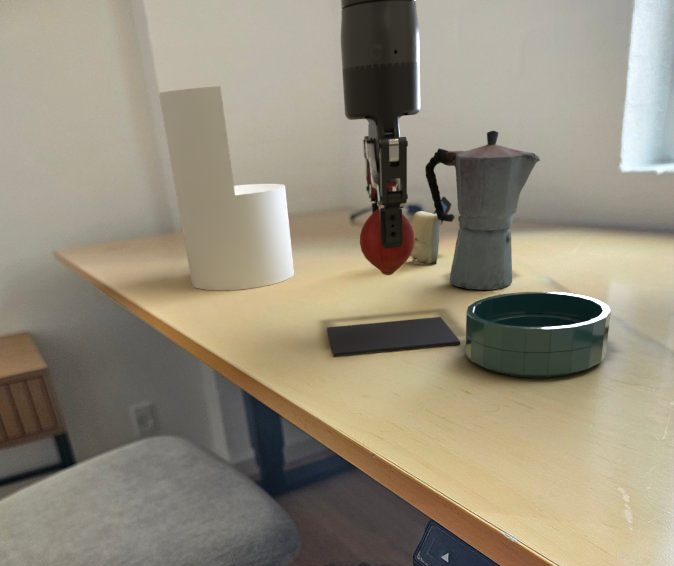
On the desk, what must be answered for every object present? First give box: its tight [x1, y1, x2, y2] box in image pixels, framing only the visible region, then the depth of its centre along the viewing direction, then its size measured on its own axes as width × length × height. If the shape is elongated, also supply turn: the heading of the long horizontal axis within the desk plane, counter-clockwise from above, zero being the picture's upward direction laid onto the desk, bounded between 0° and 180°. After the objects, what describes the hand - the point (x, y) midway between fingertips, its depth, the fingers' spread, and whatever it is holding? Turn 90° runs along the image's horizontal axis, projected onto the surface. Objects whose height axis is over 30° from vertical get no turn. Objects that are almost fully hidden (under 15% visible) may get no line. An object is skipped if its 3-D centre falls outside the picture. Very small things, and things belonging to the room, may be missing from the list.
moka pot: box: [425, 130, 541, 291], centre depth 91 cm, size 10×15×20 cm, turn 71°
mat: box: [326, 316, 461, 358], centre depth 76 cm, size 14×10×1 cm
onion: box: [359, 209, 415, 276], centre depth 71 cm, size 6×6×8 cm
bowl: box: [465, 291, 612, 379], centre depth 65 cm, size 13×13×5 cm
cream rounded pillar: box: [410, 210, 442, 266], centre depth 109 cm, size 6×5×8 cm
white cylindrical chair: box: [158, 85, 295, 291], centre depth 104 cm, size 17×17×28 cm
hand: (387, 241), depth 71 cm, fingers closed on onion, 6 cm apart
